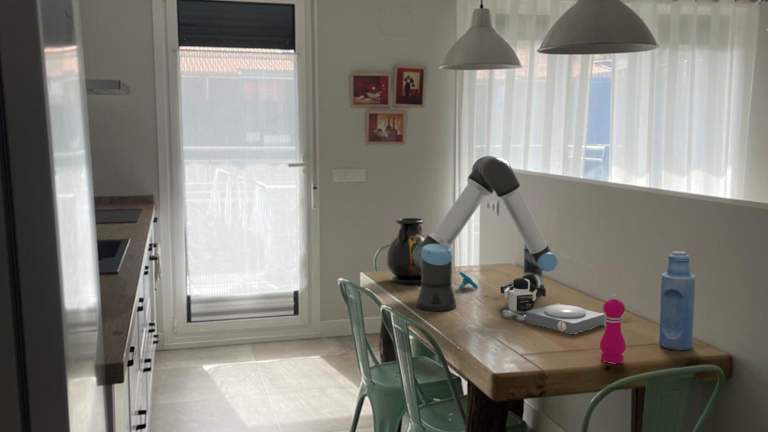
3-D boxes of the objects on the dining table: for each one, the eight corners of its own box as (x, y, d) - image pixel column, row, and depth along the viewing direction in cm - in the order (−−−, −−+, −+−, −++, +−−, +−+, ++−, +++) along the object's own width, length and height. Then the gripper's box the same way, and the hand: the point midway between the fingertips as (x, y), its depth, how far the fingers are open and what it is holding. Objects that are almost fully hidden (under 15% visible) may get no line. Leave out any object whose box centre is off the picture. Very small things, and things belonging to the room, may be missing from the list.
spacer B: (524, 323, 249) (524, 318, 248) (513, 320, 252) (513, 315, 252) (533, 320, 252) (533, 315, 252) (522, 318, 256) (522, 312, 255)
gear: (481, 287, 297) (464, 271, 296) (472, 297, 296) (455, 281, 295) (475, 285, 308) (458, 269, 307) (465, 295, 307) (449, 279, 306)
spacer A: (510, 319, 254) (510, 314, 253) (499, 317, 257) (499, 311, 257) (519, 317, 257) (519, 311, 257) (508, 314, 261) (508, 309, 260)
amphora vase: (420, 288, 302) (420, 224, 299) (377, 283, 313) (377, 221, 309) (442, 279, 321) (442, 218, 317) (400, 274, 331) (400, 215, 328)
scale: (572, 335, 233) (572, 320, 233) (524, 322, 249) (524, 309, 248) (604, 325, 245) (605, 311, 244) (557, 313, 260) (557, 300, 260)
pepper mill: (594, 360, 208) (596, 294, 205) (606, 355, 213) (609, 290, 210) (617, 366, 203) (620, 298, 200) (629, 360, 208) (632, 294, 205)
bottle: (696, 345, 221) (701, 251, 218) (685, 353, 214) (690, 255, 210) (665, 339, 228) (669, 248, 224) (654, 347, 220) (658, 252, 217)
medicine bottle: (516, 313, 261) (517, 281, 260) (508, 308, 268) (508, 277, 267) (534, 311, 263) (534, 280, 262) (525, 307, 270) (525, 276, 268)
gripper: (557, 294, 278) (549, 308, 257) (501, 290, 286) (489, 303, 265) (557, 276, 277) (550, 288, 256) (501, 272, 285) (489, 283, 264)
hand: (519, 295), depth 261 cm, fingers closed on medicine bottle, 10 cm apart
